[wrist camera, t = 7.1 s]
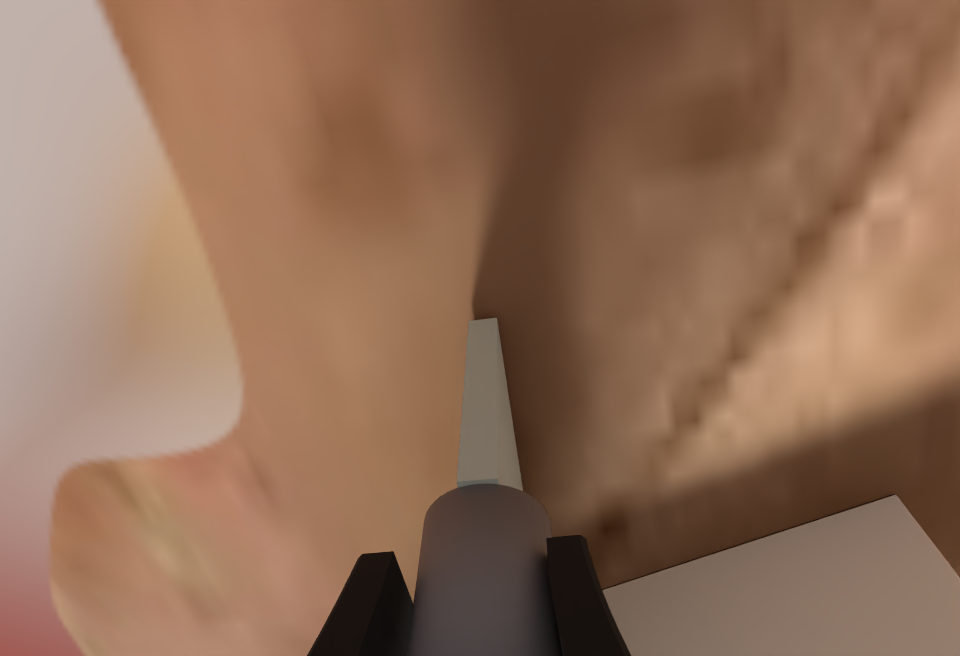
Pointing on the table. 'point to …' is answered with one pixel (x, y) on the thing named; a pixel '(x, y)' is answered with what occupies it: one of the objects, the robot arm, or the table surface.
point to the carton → (802, 594)
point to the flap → (485, 534)
